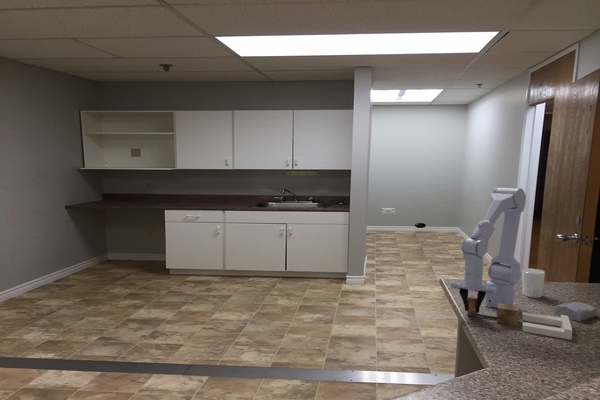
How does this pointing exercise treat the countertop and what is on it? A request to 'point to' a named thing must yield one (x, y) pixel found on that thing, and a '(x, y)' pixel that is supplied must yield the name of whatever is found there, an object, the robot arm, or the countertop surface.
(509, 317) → the string block
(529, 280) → the white cup
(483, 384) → the countertop surface
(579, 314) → the stone block
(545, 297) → the countertop surface
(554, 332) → the frame
